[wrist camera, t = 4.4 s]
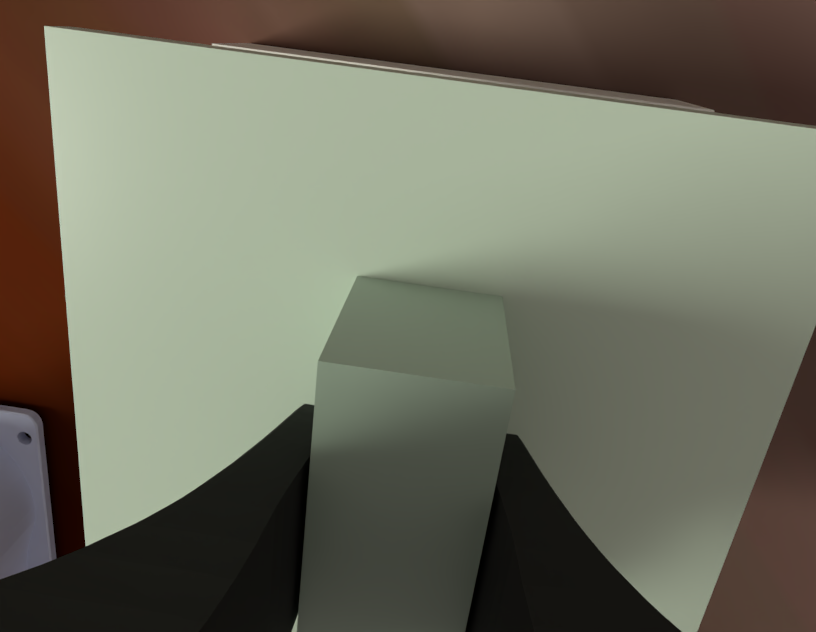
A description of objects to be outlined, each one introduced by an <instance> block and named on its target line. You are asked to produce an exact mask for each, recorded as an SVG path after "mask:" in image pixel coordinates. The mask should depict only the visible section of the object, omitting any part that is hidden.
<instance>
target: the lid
mask: <svg viewBox="0 0 816 632" xmlns="http://www.w3.org/2000/svg"><path fill="white" fill-rule="evenodd" d="M44 32H45V44H46V57H47V69H48V82H49V94H50V107H51V119H52V132H53V144H54V157H55V170H56V182H57V195H58V207H59V220H60V232H61V245H62V257H63V270H64V282H65V295H66V308H67V320H68V333H69V345H70V358H71V370H72V383H73V395H74V408H75V420H76V433H77V445H78V458H79V471H80V483H81V496H82V508H83V521H84V533H85V546H88V545H90V544H92V543H94V542H96V541H99V540H101V539H103V538H105V537H107V536H109V535H112V534H114V533H116V532H118V531H120V530H122V529H124V528H127V527H129V526H131V525H133V524H135V523H137V522H139V521H141V520H143V519H145V518H147V517H149V516H150V515H152V514H154V513H156V512H158V511H159V510H161V509H163V508H165V507H167V506H168V505H170V504H172V503H174V502H175V501H177V500H179V499H180V498H182V497H183V496H185V495H187V494H188V493H190V492H191V491H193V490H194V489H196V488H197V487H199V486H200V485H202V484H203V483H205V482H206V481H207V480H209V479H210V478H212V477H213V476H215V475H216V474H217V473H219V472H220V471H222V470H223V469H225V468H226V467H227V466H229V465H230V464H231V463H233V462H234V461H235V460H237V459H238V458H239V457H240V456H242V455H243V454H244V453H245V452H247V451H248V450H249V449H251V448H252V447H253V446H254V445H256V444H257V443H258V442H259V441H261V440H262V439H263V438H264V437H265V436H267V435H268V434H269V433H270V432H271V431H272V430H274V429H275V428H276V427H277V426H278V425H279V424H281V423H282V422H283V421H284V420H285V419H286V418H287V417H289V416H290V415H291V414H292V413H293V412H294V411H295V410H297V409H298V408H299V407H301V406H302V405H303V404H311V405H314V417H313V430H312V442H311V455H310V468H309V481H308V494H307V506H306V519H305V532H304V545H303V558H302V571H301V583H300V596H299V609H298V615H297V618H296V621H295V624H294V626H293V629H292V632H465V630H466V625H467V621H468V616H469V611H470V606H471V601H472V597H473V592H474V587H475V582H476V577H477V573H478V568H479V563H480V558H481V553H482V548H483V544H484V539H485V534H486V529H487V524H488V520H489V515H490V510H491V505H492V500H493V496H494V491H495V486H496V481H497V476H498V472H499V467H500V462H501V457H502V452H503V447H504V443H505V438H506V433H508V434H515V435H518V436H519V438H520V439H521V440H522V442H523V443H524V445H525V447H526V448H527V450H528V451H529V453H530V455H531V456H532V458H533V459H534V461H535V463H536V464H537V466H538V467H539V469H540V470H541V472H542V474H543V475H544V477H545V478H546V480H547V481H548V483H549V484H550V486H551V487H552V489H553V490H554V492H555V493H556V494H557V496H558V497H559V499H560V500H561V501H562V503H563V504H564V506H565V507H566V508H567V510H568V511H569V513H570V514H571V515H572V517H573V518H574V519H575V521H576V522H577V523H578V525H579V526H580V527H581V529H582V530H583V531H584V532H585V533H586V535H587V536H588V537H589V538H590V540H591V541H592V542H593V543H594V544H595V546H596V547H597V548H598V549H599V550H600V552H601V553H602V554H603V555H604V556H605V557H606V558H607V559H608V561H609V562H610V563H611V564H612V565H613V566H614V567H615V568H616V569H617V570H618V571H619V572H620V573H621V574H622V575H623V577H624V578H625V579H626V580H627V581H628V582H629V583H630V584H631V585H632V586H633V587H634V588H635V589H636V590H637V591H638V592H639V593H640V594H641V595H642V596H643V597H644V598H645V599H646V600H647V601H648V602H649V603H650V604H651V605H653V606H654V607H655V608H656V609H657V610H658V611H659V612H660V613H661V614H662V615H663V616H664V617H665V618H667V619H668V620H669V621H670V622H671V623H672V624H674V625H675V626H676V627H677V628H678V629H679V630H681V631H682V632H697V631H698V628H699V626H700V623H701V620H702V618H703V615H704V613H705V610H706V608H707V605H708V602H709V600H710V597H711V595H712V592H713V589H714V587H715V584H716V582H717V579H718V577H719V574H720V571H721V569H722V566H723V564H724V561H725V558H726V556H727V553H728V551H729V548H730V545H731V543H732V540H733V538H734V535H735V533H736V530H737V527H738V525H739V522H740V520H741V517H742V514H743V512H744V509H745V507H746V504H747V502H748V499H749V496H750V494H751V491H752V489H753V486H754V483H755V481H756V478H757V476H758V473H759V471H760V468H761V465H762V463H763V460H764V458H765V455H766V452H767V450H768V447H769V445H770V442H771V440H772V437H773V434H774V432H775V429H776V427H777V424H778V421H779V419H780V416H781V414H782V411H783V408H784V406H785V403H786V401H787V398H788V396H789V393H790V390H791V388H792V385H793V383H794V380H795V377H796V375H797V372H798V370H799V367H800V365H801V362H802V359H803V357H804V354H805V352H806V349H807V346H808V344H809V341H810V339H811V336H812V334H813V331H814V328H815V326H816V126H813V125H805V124H798V123H790V122H783V121H775V120H768V119H760V118H753V117H745V116H738V115H730V114H723V113H715V112H708V111H700V110H693V109H685V108H678V107H670V106H663V105H655V104H648V103H640V102H633V101H625V100H618V99H610V98H603V97H595V96H588V95H580V94H573V93H565V92H558V91H550V90H543V89H535V88H528V87H520V86H513V85H505V84H497V83H490V82H482V81H475V80H467V79H460V78H452V77H445V76H437V75H430V74H422V73H415V72H407V71H400V70H392V69H385V68H377V67H370V66H362V65H355V64H347V63H340V62H332V61H325V60H317V59H310V58H302V57H295V56H287V55H280V54H272V53H265V52H257V51H250V50H242V49H235V48H227V47H220V46H212V45H205V44H197V43H190V42H182V41H175V40H167V39H160V38H152V37H145V36H137V35H130V34H122V33H115V32H107V31H100V30H92V29H85V28H77V27H61V26H44Z"/></svg>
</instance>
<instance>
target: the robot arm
mask: <svg viewBox="0 0 816 632" xmlns="http://www.w3.org/2000/svg"><path fill="white" fill-rule="evenodd" d="M313 417H314V405H311V404H303V405H302V406H301V407H299V408H298V409H297V410H295V411H294V412H293V413H292V414H291V415H290V416H289V417H287V418H286V419H285V420H284V421H283V422H282V423H281V424H279V425H278V426H277V427H276V428H275V429H274V430H272V431H271V432H270V433H269V434H268V435H267V436H265V437H264V438H263V439H262V440H261V441H259V442H258V443H257V444H256V445H254V446H253V447H252V448H251V449H249V450H248V451H247V452H245V453H244V454H243V455H242V456H240V457H239V458H238V459H237V460H235V461H234V462H233V463H231V464H230V465H229V466H227V467H226V468H225V469H223V470H222V471H220V472H219V473H217V474H216V475H215V476H213V477H212V478H210V479H209V480H207V481H206V482H205V483H203V484H202V485H200V486H199V487H197V488H196V489H194V490H193V491H191V492H190V493H188V494H187V495H185V496H183V497H182V498H180V499H179V500H177V501H175V502H174V503H172V504H170V505H168V506H167V507H165V508H163V509H161V510H159V511H158V512H156V513H154V514H152V515H150V516H149V517H147V518H145V519H143V520H141V521H139V522H137V523H135V524H133V525H131V526H129V527H127V528H124V529H122V530H120V531H118V532H116V533H114V534H112V535H109V536H107V537H105V538H103V539H101V540H99V541H96V542H94V543H92V544H90V545H88V546H86V547H84V548H81V549H79V550H77V551H74V552H72V553H69V554H67V555H64V556H62V557H59V558H57V559H56V549H55V539H54V529H53V520H52V510H51V500H50V490H49V480H48V471H47V461H46V451H45V441H44V431H43V423H42V420H41V418H40V416H39V415H38V414H37V413H35V412H34V411H32V410H29V409H24V408H17V407H10V406H4V405H0V632H292V629H293V626H294V624H295V621H296V618H297V615H298V609H299V596H300V583H301V571H302V558H303V545H304V532H305V519H306V506H307V494H308V481H309V468H310V455H311V442H312V430H313ZM24 432H25V433H28V434H29V435H30V436H31V438H29V437H27V436H26V435H25V433H24ZM465 632H682V631H681V630H679V629H678V628H677V627H676V626H675V625H674V624H672V623H671V622H670V621H669V620H668V619H667V618H665V617H664V616H663V615H662V614H661V613H660V612H659V611H658V610H657V609H656V608H655V607H654V606H653V605H651V604H650V603H649V602H648V601H647V600H646V599H645V598H644V597H643V596H642V595H641V594H640V593H639V592H638V591H637V590H636V589H635V588H634V587H633V586H632V585H631V584H630V583H629V582H628V581H627V580H626V579H625V578H624V577H623V575H622V574H621V573H620V572H619V571H618V570H617V569H616V568H615V567H614V566H613V565H612V564H611V563H610V562H609V561H608V559H607V558H606V557H605V556H604V555H603V554H602V553H601V552H600V550H599V549H598V548H597V547H596V546H595V544H594V543H593V542H592V541H591V540H590V538H589V537H588V536H587V535H586V533H585V532H584V531H583V530H582V529H581V527H580V526H579V525H578V523H577V522H576V521H575V519H574V518H573V517H572V515H571V514H570V513H569V511H568V510H567V508H566V507H565V506H564V504H563V503H562V501H561V500H560V499H559V497H558V496H557V494H556V493H555V492H554V490H553V489H552V487H551V486H550V484H549V483H548V481H547V480H546V478H545V477H544V475H543V474H542V472H541V470H540V469H539V467H538V466H537V464H536V463H535V461H534V459H533V458H532V456H531V455H530V453H529V451H528V450H527V448H526V447H525V445H524V443H523V442H522V440H521V439H520V438H519V436H518V435H515V434H508V433H506V438H505V443H504V447H503V452H502V457H501V462H500V467H499V472H498V476H497V481H496V486H495V491H494V496H493V500H492V505H491V510H490V515H489V520H488V524H487V529H486V534H485V539H484V544H483V548H482V553H481V558H480V563H479V568H478V573H477V577H476V582H475V587H474V592H473V597H472V601H471V606H470V611H469V616H468V621H467V625H466V630H465Z"/></svg>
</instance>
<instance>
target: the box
mask: <svg viewBox="0 0 816 632" xmlns="http://www.w3.org/2000/svg"><path fill="white" fill-rule="evenodd" d="M212 46H220V47H227V48H235V49H242V50H250V51H257V52H265V53H272V54H280V55H287V56H295V57H302V58H310V59H317V60H325V61H332V62H340V63H347V64H355V65H362V66H370V67H377V68H385V69H392V70H400V71H407V72H415V73H422V74H430V75H437V76H445V77H452V78H460V79H467V80H475V81H482V82H490V83H497V84H505V85H513V86H520V87H528V88H535V89H543V90H550V91H558V92H565V93H573V94H580V95H588V96H595V97H603V98H610V99H618V100H625V101H633V102H640V103H648V104H655V105H663V106H670V107H678V108H685V109H693V110H700V111H708V112H714V111H715V110H712V109H708V108H705V107H701V106H698V105H694V104H690V103H687V102H683V101H680V100H675V99H667V98H659V97H652V96H644V95H637V94H629V93H622V92H614V91H607V90H599V89H591V88H584V87H576V86H569V85H561V84H554V83H546V82H539V81H531V80H523V79H516V78H508V77H501V76H493V75H486V74H478V73H471V72H463V71H456V70H448V69H440V68H433V67H425V66H418V65H410V64H403V63H395V62H388V61H380V60H372V59H365V58H357V57H350V56H342V55H335V54H327V53H320V52H312V51H304V50H297V49H289V48H282V47H274V46H267V45H259V44H252V43H218V44H212Z"/></svg>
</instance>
